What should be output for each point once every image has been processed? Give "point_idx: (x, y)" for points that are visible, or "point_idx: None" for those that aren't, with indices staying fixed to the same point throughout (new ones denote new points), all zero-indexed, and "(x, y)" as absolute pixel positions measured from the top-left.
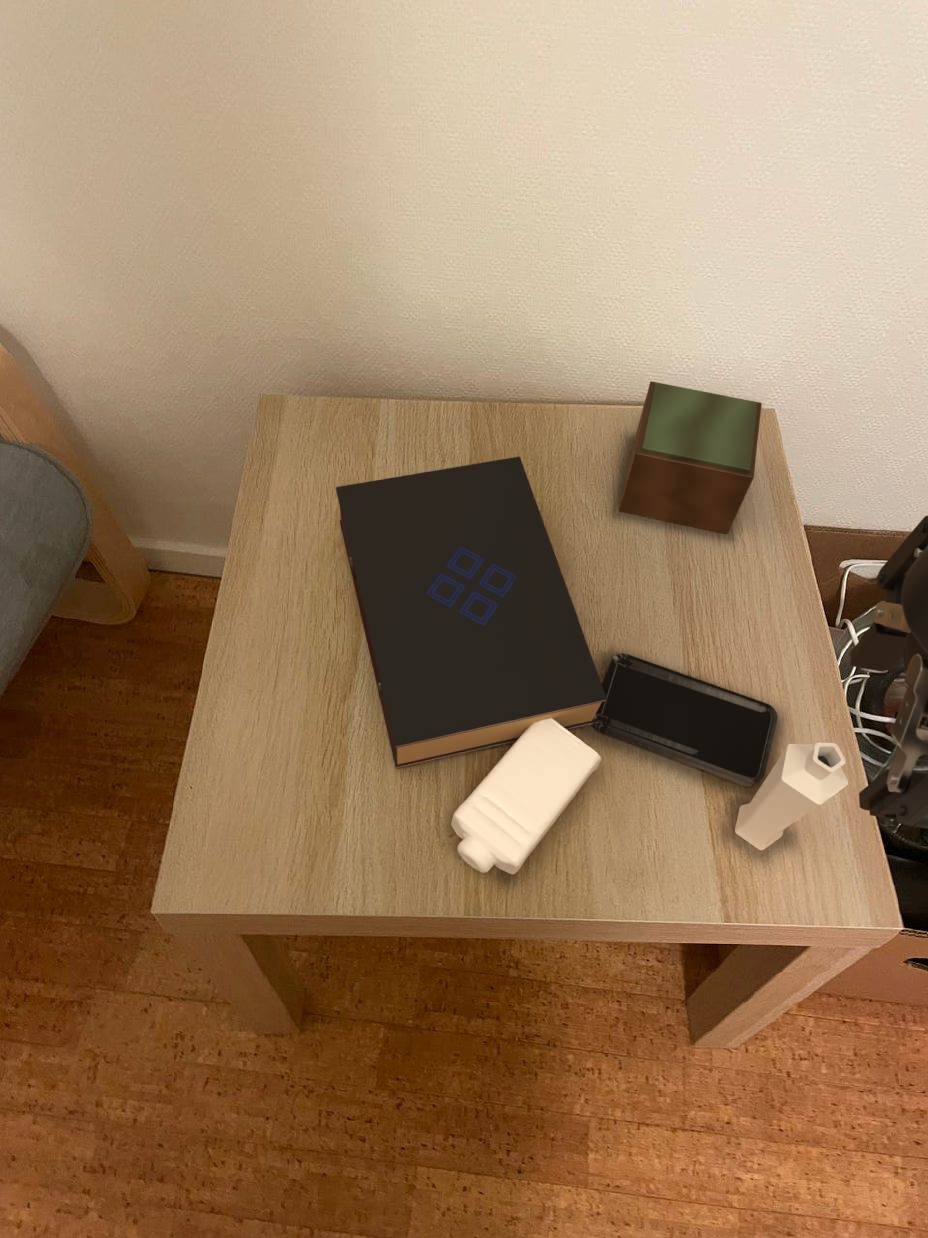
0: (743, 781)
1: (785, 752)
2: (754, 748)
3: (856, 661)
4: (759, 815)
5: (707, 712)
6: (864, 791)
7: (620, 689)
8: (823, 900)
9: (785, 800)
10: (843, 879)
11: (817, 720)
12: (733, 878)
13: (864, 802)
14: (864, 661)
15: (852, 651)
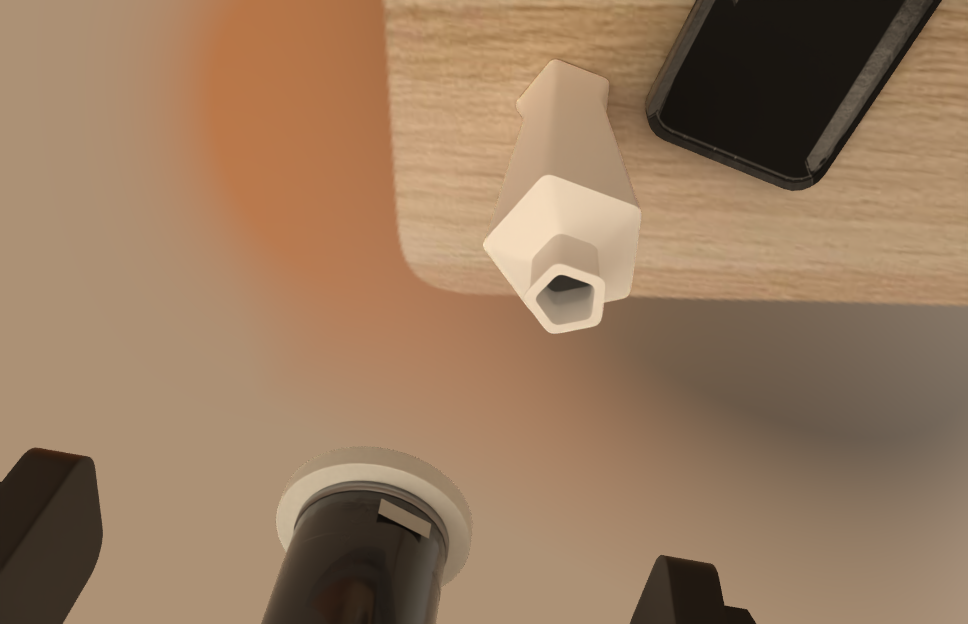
0: (654, 94)
1: (621, 197)
2: (724, 130)
3: (664, 586)
4: (545, 110)
5: (828, 40)
6: (35, 498)
7: None
8: (428, 196)
9: (525, 171)
10: (466, 236)
11: (773, 260)
12: (460, 40)
13: (3, 482)
14: (656, 614)
15: (711, 588)
